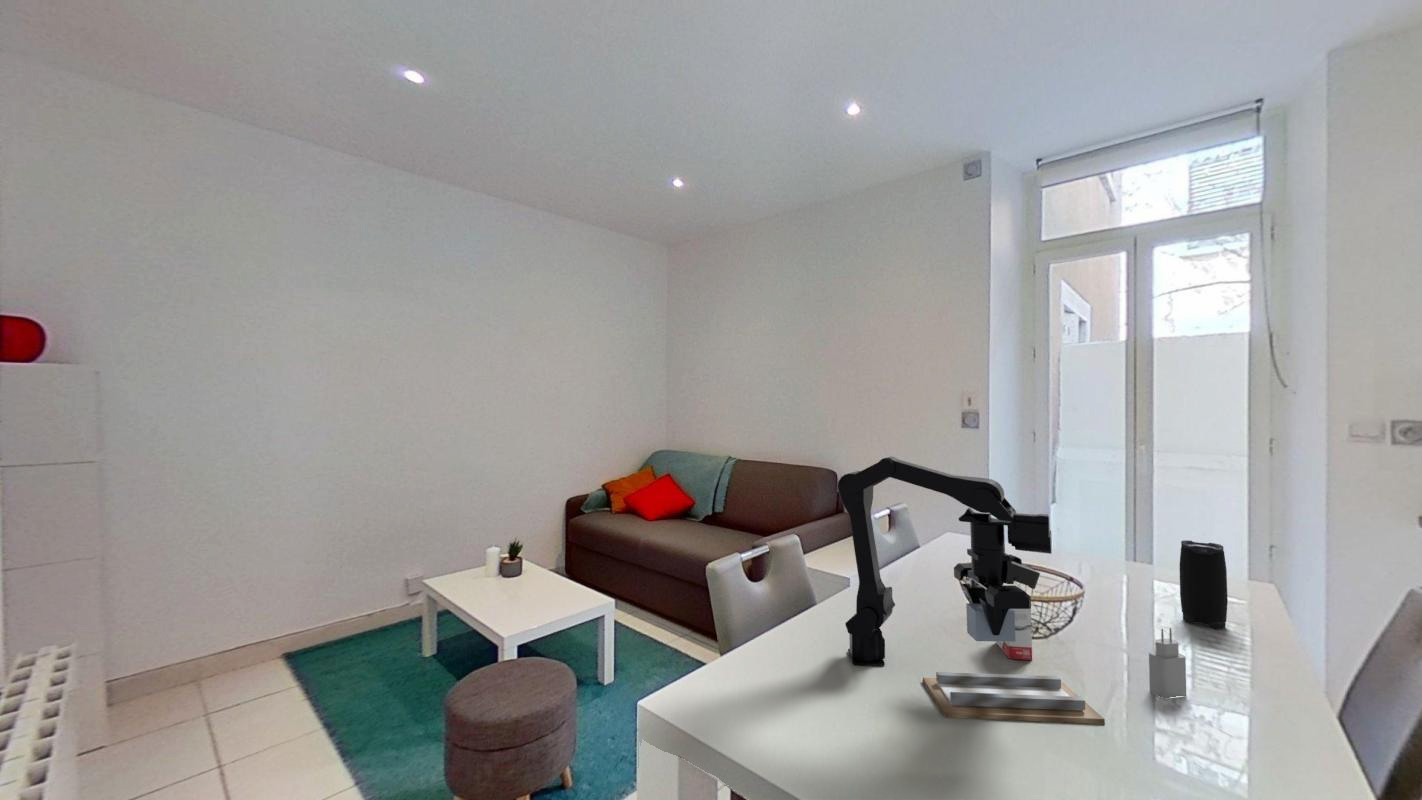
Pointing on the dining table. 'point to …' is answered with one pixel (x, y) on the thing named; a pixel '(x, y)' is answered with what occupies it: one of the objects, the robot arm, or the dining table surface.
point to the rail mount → (1008, 698)
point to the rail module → (980, 626)
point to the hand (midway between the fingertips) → (990, 630)
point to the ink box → (1020, 637)
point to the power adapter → (1167, 668)
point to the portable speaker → (1203, 584)
